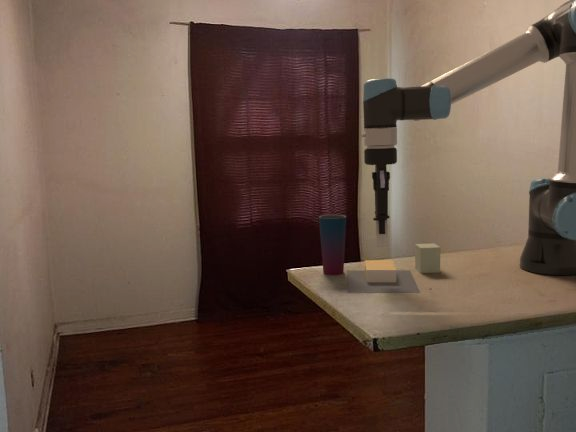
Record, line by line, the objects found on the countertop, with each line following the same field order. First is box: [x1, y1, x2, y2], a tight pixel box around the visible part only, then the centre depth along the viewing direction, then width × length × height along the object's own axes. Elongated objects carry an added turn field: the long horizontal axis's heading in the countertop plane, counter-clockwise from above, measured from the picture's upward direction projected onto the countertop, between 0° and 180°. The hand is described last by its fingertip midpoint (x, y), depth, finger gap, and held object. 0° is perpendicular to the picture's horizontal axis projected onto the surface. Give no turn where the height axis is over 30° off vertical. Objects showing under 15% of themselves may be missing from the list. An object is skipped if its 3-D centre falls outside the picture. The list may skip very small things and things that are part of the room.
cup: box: [318, 214, 347, 276], centre depth 149 cm, size 7×7×15 cm
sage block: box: [414, 242, 441, 274], centre depth 149 cm, size 5×5×7 cm
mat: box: [346, 269, 421, 294], centre depth 141 cm, size 16×20×1 cm
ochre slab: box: [364, 259, 397, 282], centre depth 144 cm, size 7×3×10 cm
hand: (381, 246), depth 141 cm, fingers closed
